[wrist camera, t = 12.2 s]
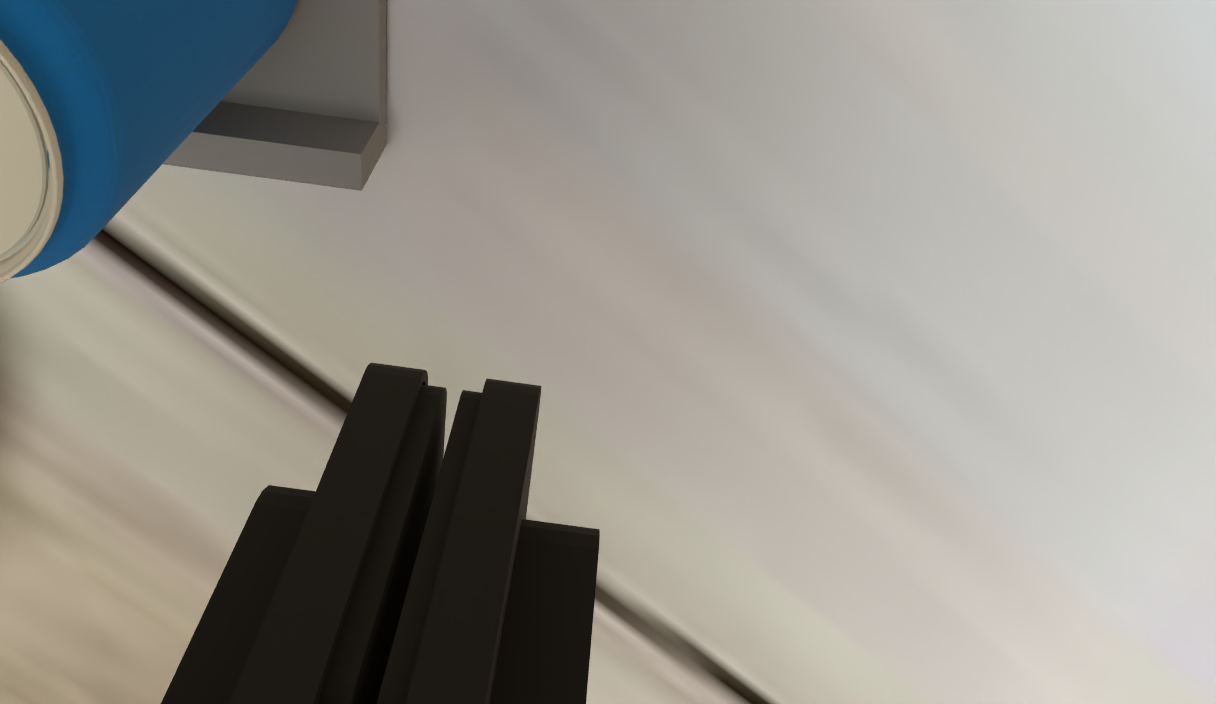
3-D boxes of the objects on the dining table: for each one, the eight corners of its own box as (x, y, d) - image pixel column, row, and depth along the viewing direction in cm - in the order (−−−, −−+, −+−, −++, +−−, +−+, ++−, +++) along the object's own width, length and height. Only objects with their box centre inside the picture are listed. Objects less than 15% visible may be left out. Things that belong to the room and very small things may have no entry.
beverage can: (43, 25, 27) (-317, 262, 17) (32, -256, 24) (-430, -160, 14) (297, 93, 28) (90, 359, 18) (324, -170, 24) (84, -18, 14)
